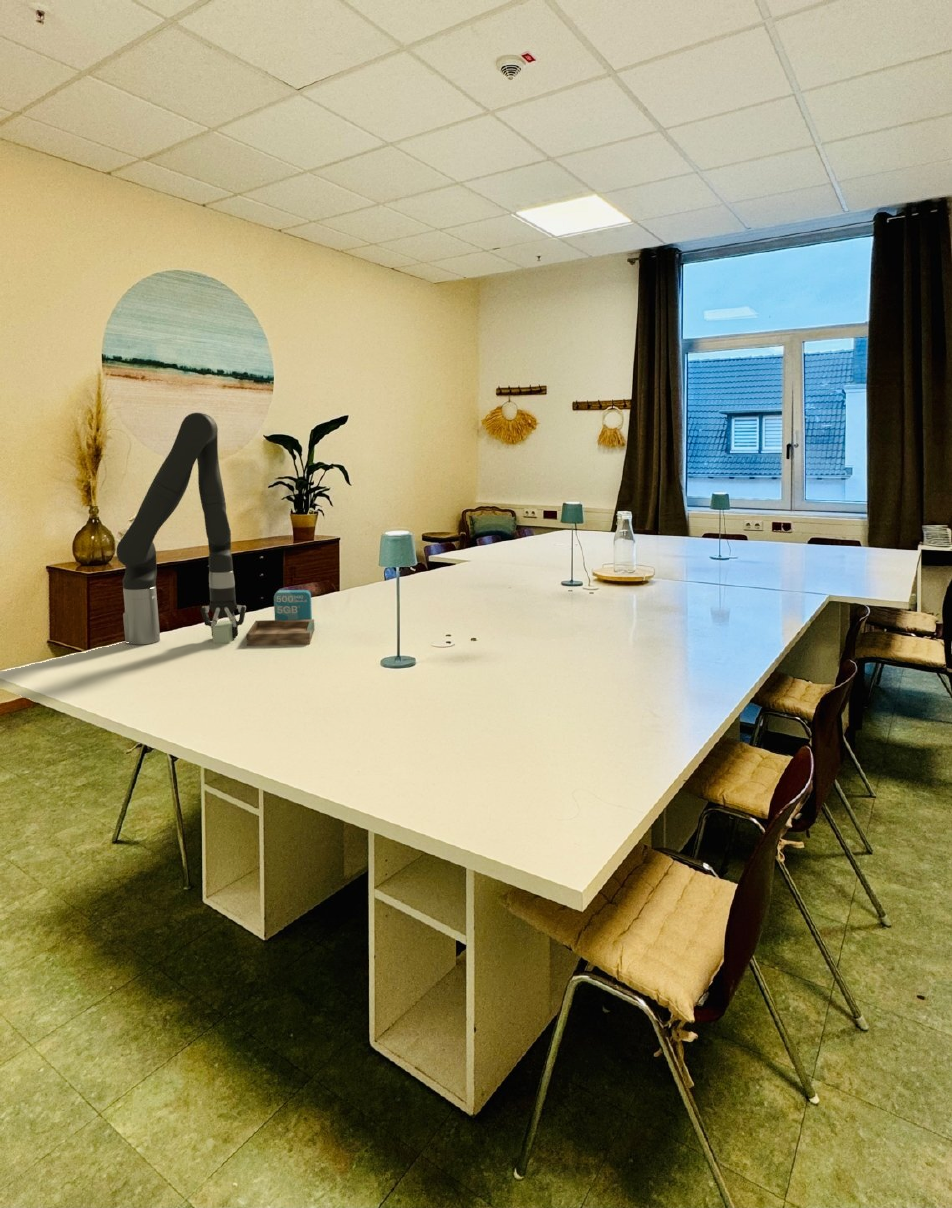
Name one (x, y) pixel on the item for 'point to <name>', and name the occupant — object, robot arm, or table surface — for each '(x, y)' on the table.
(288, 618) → the data package
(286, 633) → the shallow wooden tray
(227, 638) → the panel block
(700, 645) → the table surface
